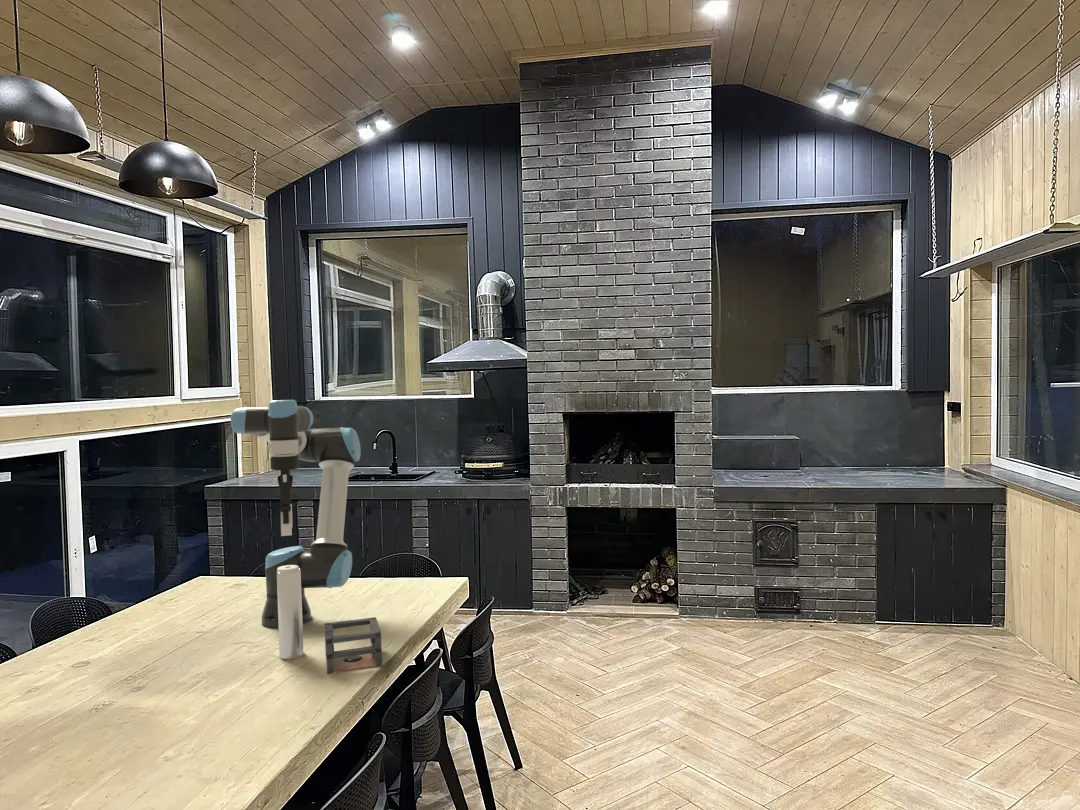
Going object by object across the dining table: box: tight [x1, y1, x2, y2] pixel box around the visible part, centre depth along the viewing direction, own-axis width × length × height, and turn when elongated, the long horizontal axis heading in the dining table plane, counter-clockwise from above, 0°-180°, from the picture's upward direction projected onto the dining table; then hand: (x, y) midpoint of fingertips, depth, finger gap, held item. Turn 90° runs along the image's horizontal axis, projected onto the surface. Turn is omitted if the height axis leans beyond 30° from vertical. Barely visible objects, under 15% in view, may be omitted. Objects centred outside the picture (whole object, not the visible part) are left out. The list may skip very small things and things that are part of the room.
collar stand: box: [324, 616, 383, 675], centre depth 194 cm, size 14×14×9 cm
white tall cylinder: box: [277, 565, 305, 661], centre depth 199 cm, size 6×6×25 cm
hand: (287, 531), depth 198 cm, fingers open, 13 cm apart
